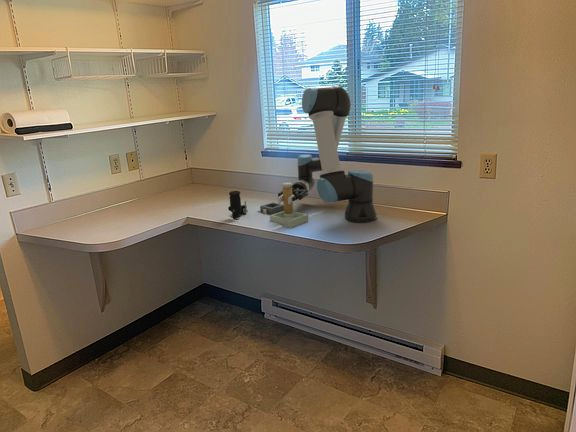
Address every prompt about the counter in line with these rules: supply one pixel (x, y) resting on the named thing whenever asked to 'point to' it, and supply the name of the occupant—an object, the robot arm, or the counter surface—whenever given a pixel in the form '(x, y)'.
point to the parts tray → (289, 219)
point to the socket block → (271, 208)
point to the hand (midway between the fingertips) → (283, 200)
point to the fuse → (286, 194)
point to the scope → (236, 205)
